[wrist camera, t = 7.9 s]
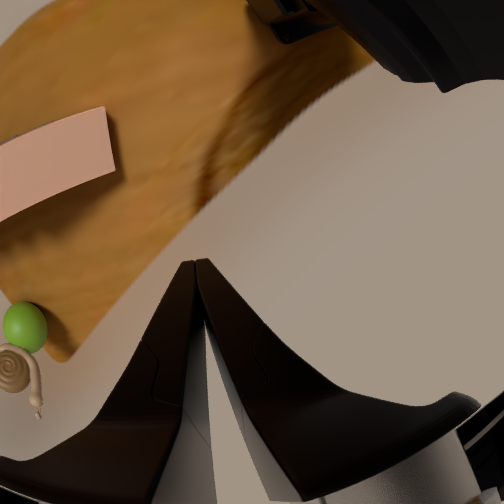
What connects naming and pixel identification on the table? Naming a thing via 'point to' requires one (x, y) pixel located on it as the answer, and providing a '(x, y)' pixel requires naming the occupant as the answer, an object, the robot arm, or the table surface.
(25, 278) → the table surface
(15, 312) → the snail figurine
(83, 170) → the domino
